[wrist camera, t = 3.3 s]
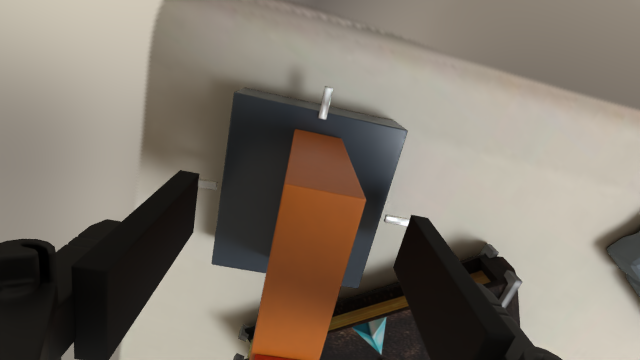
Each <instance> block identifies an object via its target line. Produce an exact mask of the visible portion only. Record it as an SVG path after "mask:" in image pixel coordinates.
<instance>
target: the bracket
mask: <svg viewBox="0 0 640 360" xmlns="http://www.w3.org/2000/svg"><path fill="white" fill-rule="evenodd" d="M607 251H608V253H609V254H610V256H611V257H612V258H613V260H614V261H615V263H616V264H617V266H618V267H619V268H620V269H621V270H622V271H624V272H625V273H627V274H626V276H627V280H628V281H629V283H630V284H631V285H632V287H633V288H634V290H635V291H636V293H637V294H638V295H639V297H640V231H639V232H638V233H636V234H634V235H630V236H625V237H623V238H621V239H620V240H618V241H617V242H615V243H614V244H612V245H611V246H609V247H608V248H607Z"/></svg>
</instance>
